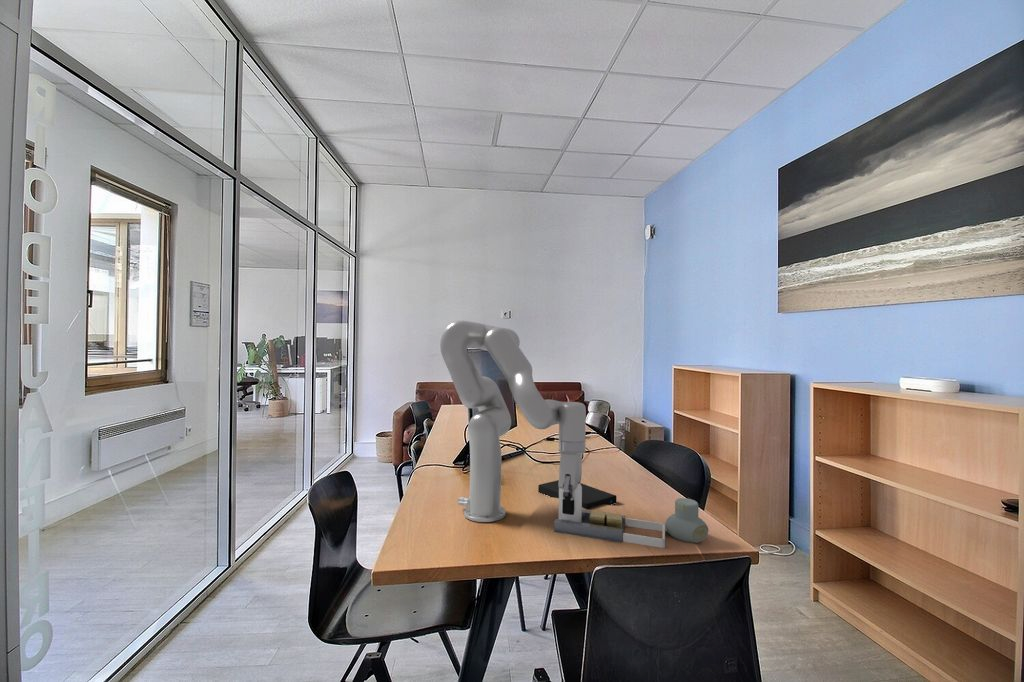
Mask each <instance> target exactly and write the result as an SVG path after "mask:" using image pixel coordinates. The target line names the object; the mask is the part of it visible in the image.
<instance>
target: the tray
mask: <svg viewBox="0 0 1024 682" xmlns="http://www.w3.org/2000/svg"><path fill="white" fill-rule="evenodd" d="M626 527H631V528H635V529H636V528H638V529H644V530H652V531H657V532H662V538H659V537H655V536H654V537H653V536H646V535H640V534H633V533H628V532H624V533H623V539H622V543H629V544H635V545H642V546H648V547H655V548H660V549H665V548H666V528H665V522H657V521H651V520H643V519H637V518H636V519H635V518H631V517H630V518H628V517H626Z"/></svg>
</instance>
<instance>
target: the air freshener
mask: <svg viewBox="0 0 1024 682" xmlns="http://www.w3.org/2000/svg"><path fill="white" fill-rule="evenodd" d="M664 523H665V531H667V534H668V535H670V536H671V537H672V538H674V539H676V540H679V541H682V542H688V543H693V544H698V543H701V542H702V541H704V540H705V539H706V538H707V536H708V535H709V527H708V524H707V523H706V522H705V521H704V520H703V518H701V517H700V516H699V503H698V502H697V501H696V500H694V499H691V498H687V497H682V498H681V497H680V498H679V497H678V498H676V499H675V501H674V514H671V515H669V516H668V517H667V518H666V520H665V522H664Z"/></svg>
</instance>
